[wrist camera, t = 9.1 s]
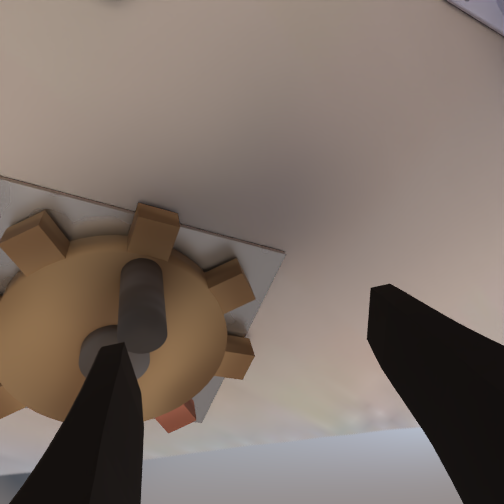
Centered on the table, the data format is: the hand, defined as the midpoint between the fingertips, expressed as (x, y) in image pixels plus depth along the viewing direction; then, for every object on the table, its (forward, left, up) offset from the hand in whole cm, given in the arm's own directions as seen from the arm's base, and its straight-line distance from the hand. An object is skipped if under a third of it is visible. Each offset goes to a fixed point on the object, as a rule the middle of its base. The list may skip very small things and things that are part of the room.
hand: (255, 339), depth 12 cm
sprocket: (+2, +8, -9) cm, 12 cm away
